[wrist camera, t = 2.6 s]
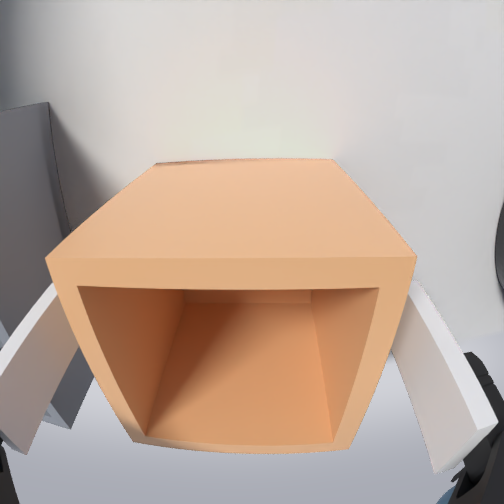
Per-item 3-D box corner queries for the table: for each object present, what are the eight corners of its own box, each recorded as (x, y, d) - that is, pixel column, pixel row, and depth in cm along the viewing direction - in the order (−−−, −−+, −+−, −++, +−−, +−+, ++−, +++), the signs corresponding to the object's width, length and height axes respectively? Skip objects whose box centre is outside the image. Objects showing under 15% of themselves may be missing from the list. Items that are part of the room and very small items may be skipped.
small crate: (332, 159, 15) (417, 256, 7) (320, 304, 20) (348, 449, 11) (156, 163, 16) (45, 257, 7) (177, 304, 20) (133, 441, 11)
